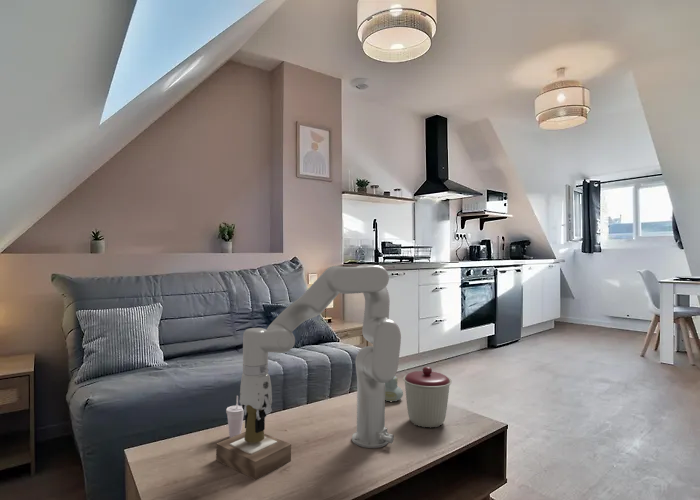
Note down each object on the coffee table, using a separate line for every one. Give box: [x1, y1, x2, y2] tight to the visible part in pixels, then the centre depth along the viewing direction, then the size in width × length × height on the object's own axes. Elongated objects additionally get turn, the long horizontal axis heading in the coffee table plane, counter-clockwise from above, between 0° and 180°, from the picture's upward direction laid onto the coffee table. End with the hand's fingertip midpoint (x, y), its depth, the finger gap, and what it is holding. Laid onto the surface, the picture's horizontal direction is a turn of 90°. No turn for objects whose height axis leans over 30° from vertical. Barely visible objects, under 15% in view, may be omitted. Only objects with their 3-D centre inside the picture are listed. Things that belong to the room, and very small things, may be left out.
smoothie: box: [225, 395, 245, 438], centre depth 144 cm, size 6×6×14 cm
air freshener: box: [385, 375, 404, 402], centre depth 184 cm, size 11×8×10 cm
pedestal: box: [215, 431, 292, 481], centre depth 128 cm, size 18×14×5 cm
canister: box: [402, 366, 452, 429], centre depth 159 cm, size 18×18×21 cm
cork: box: [244, 405, 265, 442], centre depth 128 cm, size 6×6×11 cm
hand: (254, 428), depth 128 cm, fingers closed on cork, 4 cm apart
